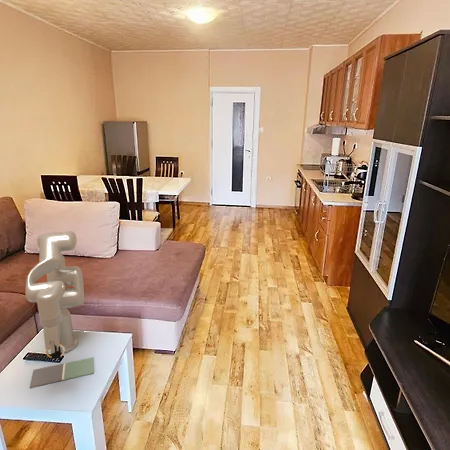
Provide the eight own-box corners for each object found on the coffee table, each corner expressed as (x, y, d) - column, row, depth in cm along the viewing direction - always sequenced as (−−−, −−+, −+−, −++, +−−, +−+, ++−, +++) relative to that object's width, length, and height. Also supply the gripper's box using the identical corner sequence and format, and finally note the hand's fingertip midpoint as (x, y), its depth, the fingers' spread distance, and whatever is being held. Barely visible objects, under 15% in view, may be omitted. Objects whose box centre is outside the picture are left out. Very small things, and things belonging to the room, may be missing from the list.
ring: (66, 353, 140) (64, 338, 137) (65, 359, 137) (62, 343, 134) (48, 356, 138) (45, 340, 135) (46, 361, 135) (43, 346, 132)
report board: (33, 370, 151) (33, 369, 151) (93, 358, 160) (93, 356, 160) (29, 388, 141) (29, 387, 141) (94, 373, 151) (93, 372, 150)
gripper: (43, 310, 137) (48, 346, 143) (37, 332, 123) (44, 371, 129) (62, 307, 139) (67, 342, 145) (59, 328, 126) (65, 367, 131)
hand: (56, 356), depth 137 cm, fingers closed on ring, 1 cm apart
